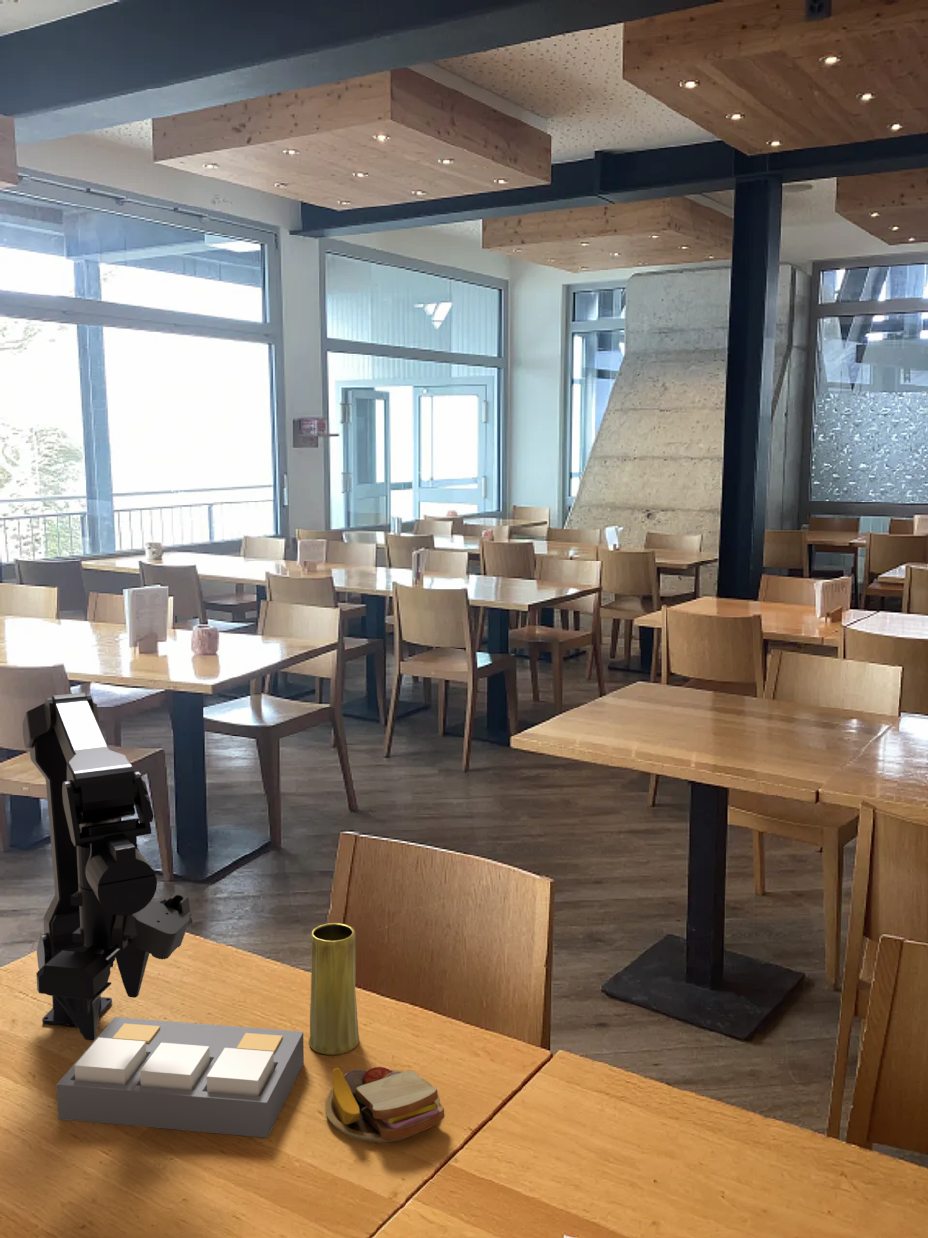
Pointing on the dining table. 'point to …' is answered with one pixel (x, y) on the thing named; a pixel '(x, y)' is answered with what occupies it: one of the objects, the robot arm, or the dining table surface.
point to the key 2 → (241, 1072)
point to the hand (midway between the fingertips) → (112, 1017)
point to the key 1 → (111, 1061)
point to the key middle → (175, 1066)
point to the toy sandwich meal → (382, 1104)
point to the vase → (333, 990)
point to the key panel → (187, 1105)
